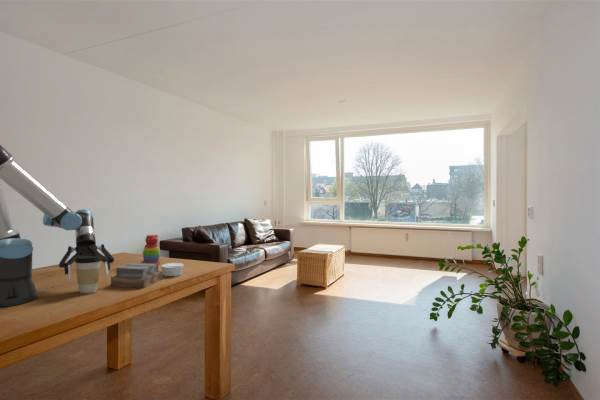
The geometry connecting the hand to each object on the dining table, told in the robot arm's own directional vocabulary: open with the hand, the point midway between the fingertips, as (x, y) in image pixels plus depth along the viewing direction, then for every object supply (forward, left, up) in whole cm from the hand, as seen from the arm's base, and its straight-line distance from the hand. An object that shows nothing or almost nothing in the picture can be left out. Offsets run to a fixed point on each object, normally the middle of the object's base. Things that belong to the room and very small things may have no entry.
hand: (88, 277), depth 142 cm
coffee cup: (+2, +2, -6) cm, 7 cm away
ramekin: (+37, -18, -7) cm, 41 cm away
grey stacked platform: (+19, -10, -6) cm, 22 cm away
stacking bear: (+57, +6, -6) cm, 57 cm away
